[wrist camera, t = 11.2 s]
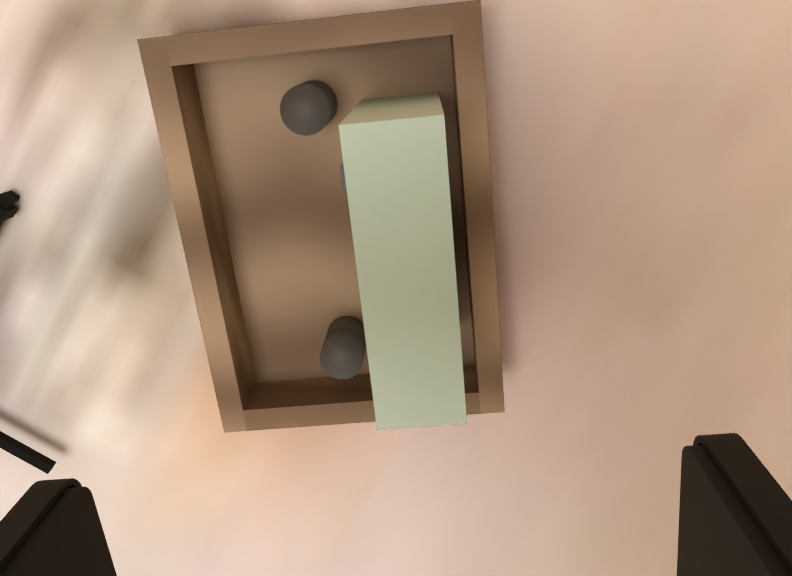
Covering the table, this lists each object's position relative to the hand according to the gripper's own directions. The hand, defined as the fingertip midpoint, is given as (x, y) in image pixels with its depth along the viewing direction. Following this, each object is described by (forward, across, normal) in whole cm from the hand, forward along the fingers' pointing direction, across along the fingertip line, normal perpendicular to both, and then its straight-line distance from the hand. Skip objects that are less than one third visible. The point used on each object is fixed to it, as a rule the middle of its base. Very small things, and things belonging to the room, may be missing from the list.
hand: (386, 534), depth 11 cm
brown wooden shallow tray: (+20, +3, 0) cm, 20 cm away
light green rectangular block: (+19, 0, 0) cm, 19 cm away
